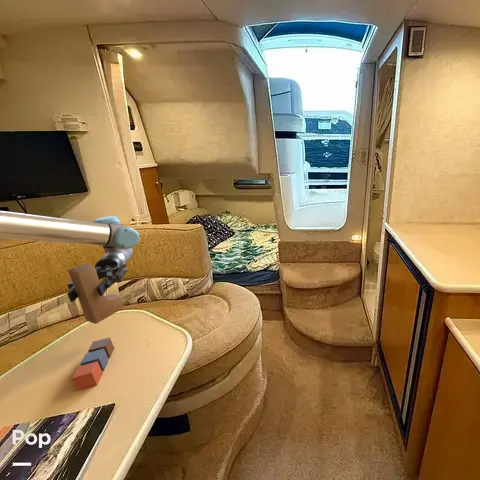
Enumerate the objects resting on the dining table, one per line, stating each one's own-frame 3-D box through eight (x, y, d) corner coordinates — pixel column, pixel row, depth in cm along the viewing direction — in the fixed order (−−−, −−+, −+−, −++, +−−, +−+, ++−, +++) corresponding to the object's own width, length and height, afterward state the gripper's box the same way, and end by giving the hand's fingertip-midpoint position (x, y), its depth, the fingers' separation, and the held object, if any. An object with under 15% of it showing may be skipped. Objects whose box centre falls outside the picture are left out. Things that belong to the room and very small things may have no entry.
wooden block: (114, 304, 91) (100, 257, 84) (124, 307, 89) (110, 259, 83) (85, 321, 83) (67, 269, 76) (95, 324, 81) (77, 272, 75)
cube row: (97, 385, 73) (91, 372, 71) (77, 391, 71) (71, 378, 70) (114, 348, 86) (110, 337, 85) (98, 352, 85) (93, 341, 83)
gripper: (143, 268, 103) (127, 297, 82) (82, 279, 96) (49, 314, 76) (137, 250, 100) (119, 275, 80) (74, 260, 94) (37, 291, 73)
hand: (85, 294), depth 78 cm, fingers closed on wooden block, 6 cm apart
